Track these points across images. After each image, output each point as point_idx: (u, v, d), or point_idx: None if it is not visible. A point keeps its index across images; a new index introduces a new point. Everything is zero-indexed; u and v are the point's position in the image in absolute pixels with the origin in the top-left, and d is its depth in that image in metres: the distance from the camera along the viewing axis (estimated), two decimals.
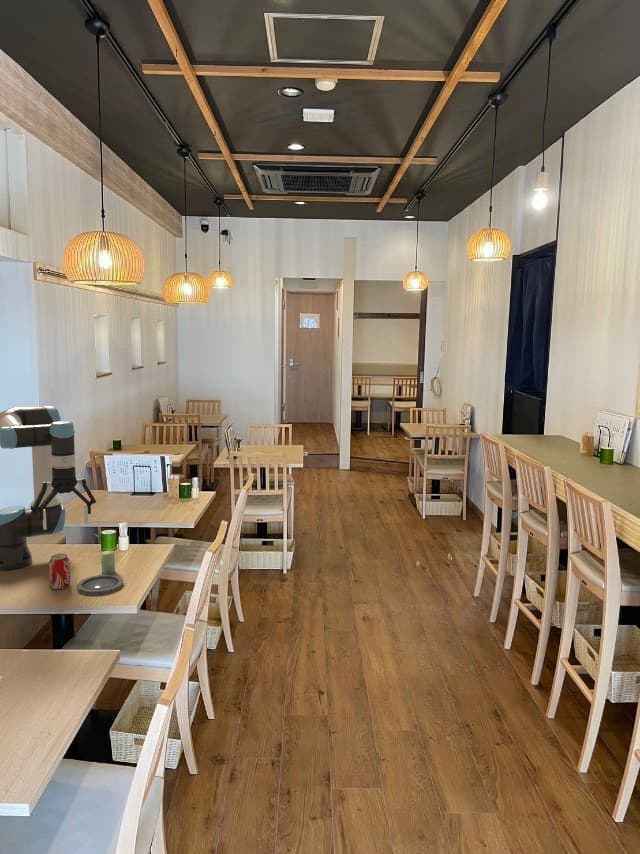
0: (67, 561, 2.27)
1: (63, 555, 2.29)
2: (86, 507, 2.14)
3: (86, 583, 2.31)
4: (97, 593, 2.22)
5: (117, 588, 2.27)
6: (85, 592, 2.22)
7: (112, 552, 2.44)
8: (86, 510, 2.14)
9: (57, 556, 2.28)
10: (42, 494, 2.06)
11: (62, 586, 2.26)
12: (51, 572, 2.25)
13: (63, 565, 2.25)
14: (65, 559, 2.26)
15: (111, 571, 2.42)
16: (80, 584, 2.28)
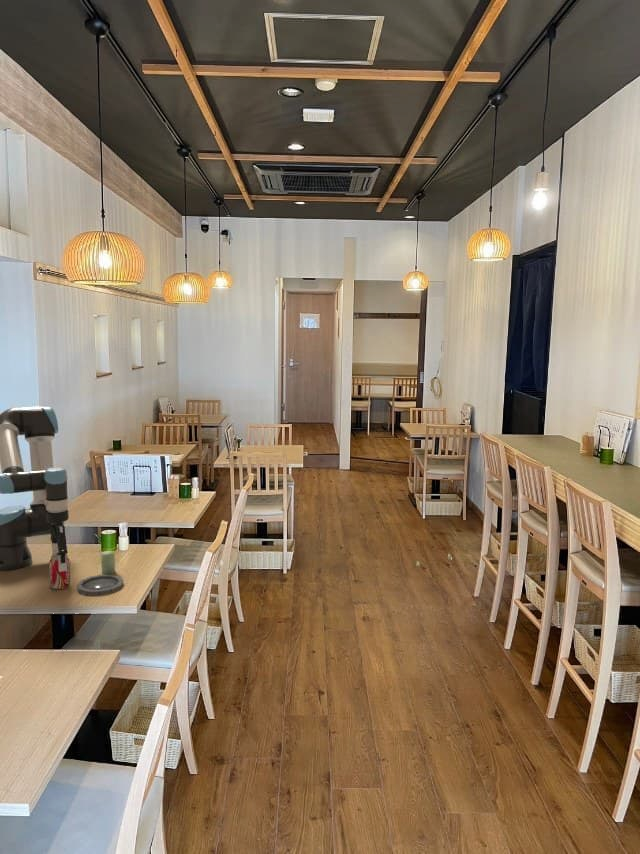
0: (67, 561, 2.27)
1: None
2: (58, 555, 2.20)
3: (86, 583, 2.31)
4: (97, 593, 2.22)
5: (117, 588, 2.27)
6: (85, 592, 2.22)
7: (112, 552, 2.44)
8: (58, 558, 2.20)
9: (57, 556, 2.28)
10: (51, 528, 2.31)
11: (62, 586, 2.26)
12: (51, 572, 2.25)
13: None
14: None
15: (111, 571, 2.42)
16: (80, 584, 2.28)
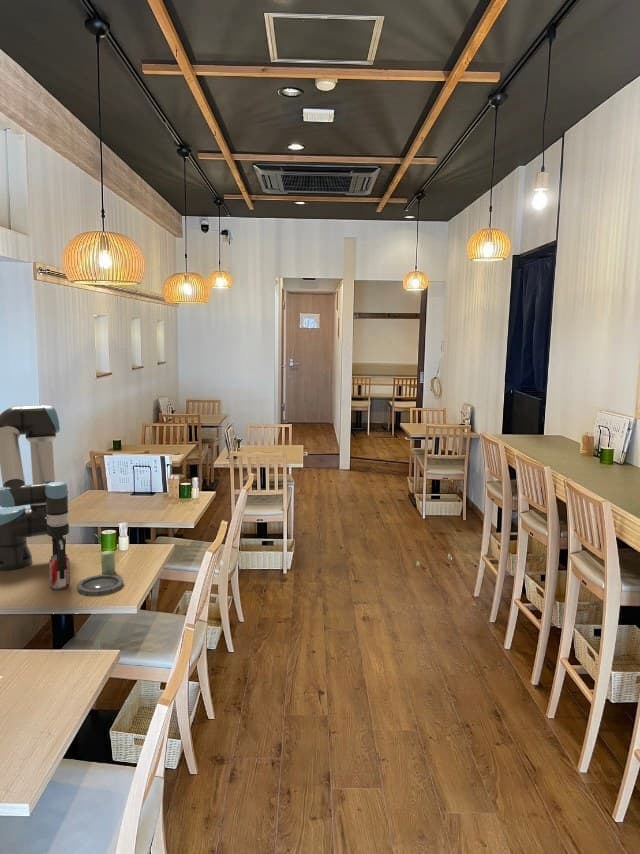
0: (67, 561, 2.27)
1: None
2: (57, 571, 2.24)
3: (86, 583, 2.31)
4: (97, 593, 2.22)
5: (117, 588, 2.27)
6: (85, 592, 2.22)
7: (112, 552, 2.44)
8: None
9: None
10: (52, 545, 2.31)
11: None
12: (51, 572, 2.25)
13: None
14: None
15: (111, 571, 2.42)
16: (80, 584, 2.28)
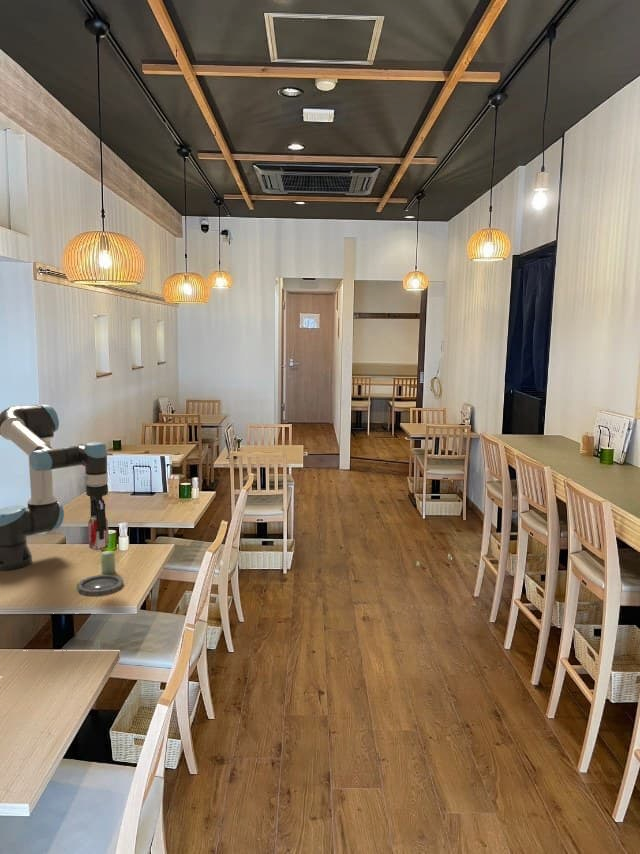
0: (106, 522, 2.26)
1: None
2: None
3: (86, 583, 2.31)
4: (97, 593, 2.22)
5: (117, 588, 2.27)
6: (85, 592, 2.22)
7: (112, 552, 2.44)
8: (97, 534, 2.23)
9: None
10: None
11: None
12: (90, 533, 2.24)
13: None
14: None
15: (111, 571, 2.42)
16: (80, 584, 2.28)
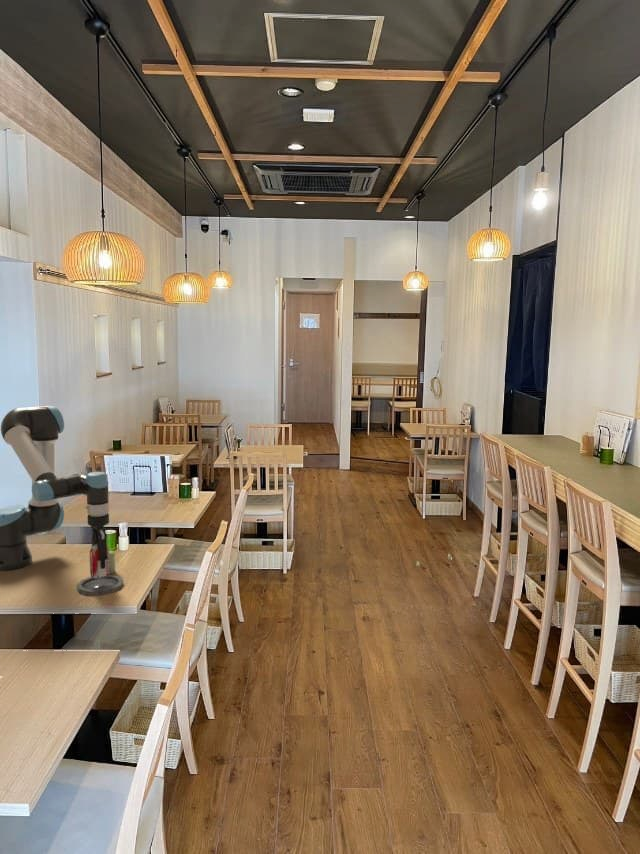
0: (107, 551, 2.27)
1: None
2: (98, 560, 2.24)
3: (86, 583, 2.31)
4: (97, 593, 2.22)
5: (117, 588, 2.27)
6: (85, 592, 2.22)
7: (112, 552, 2.44)
8: None
9: (97, 546, 2.28)
10: (92, 535, 2.32)
11: None
12: (92, 562, 2.25)
13: None
14: None
15: (111, 571, 2.42)
16: (80, 584, 2.28)
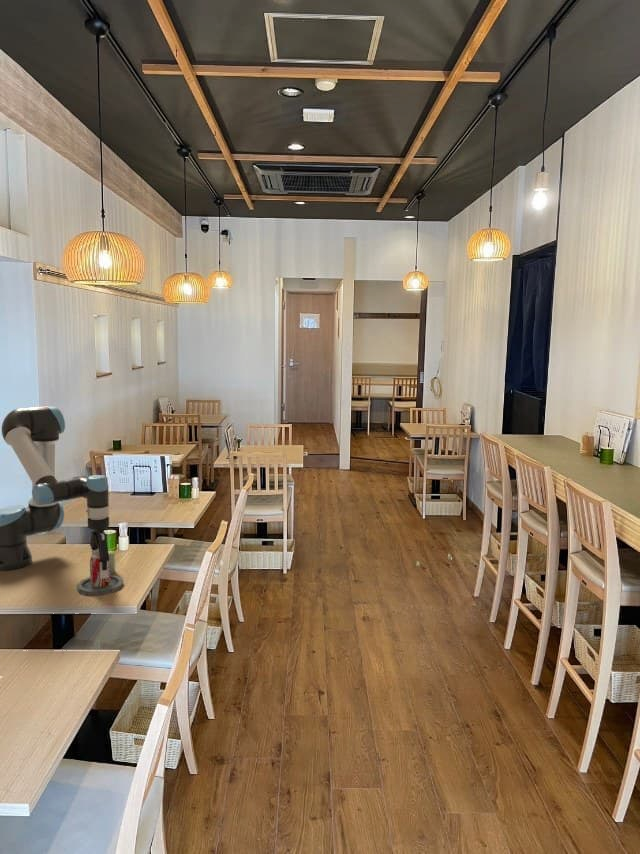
0: None
1: None
2: None
3: (86, 583, 2.31)
4: (97, 593, 2.22)
5: (117, 588, 2.27)
6: (85, 592, 2.22)
7: (112, 552, 2.44)
8: (100, 565, 2.22)
9: (97, 555, 2.28)
10: (91, 535, 2.33)
11: (103, 584, 2.27)
12: (92, 571, 2.26)
13: None
14: None
15: (111, 571, 2.42)
16: (80, 584, 2.28)
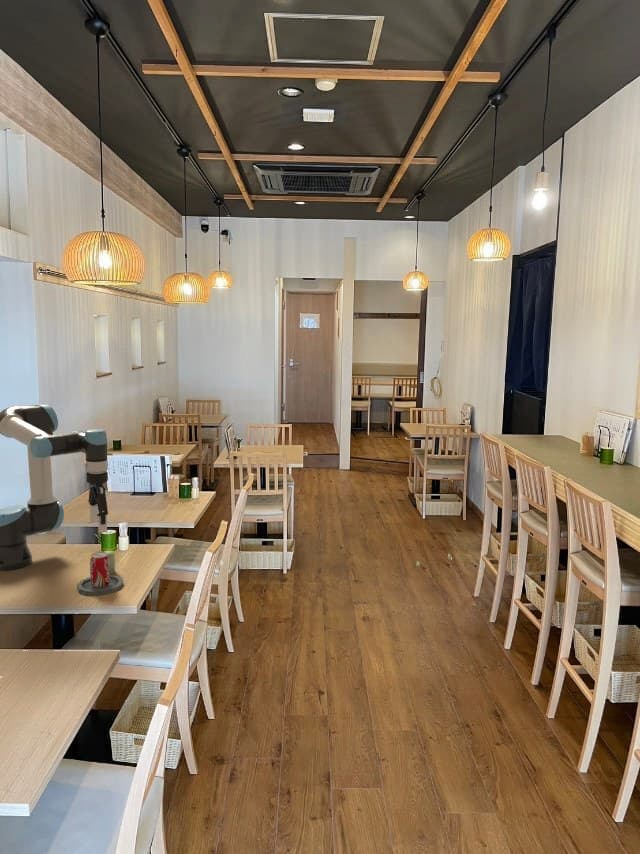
0: (107, 560, 2.28)
1: (103, 554, 2.30)
2: (98, 516, 2.20)
3: (86, 583, 2.31)
4: (97, 593, 2.22)
5: (117, 588, 2.27)
6: (85, 592, 2.22)
7: (112, 552, 2.44)
8: (98, 519, 2.20)
9: (97, 554, 2.28)
10: (89, 490, 2.30)
11: (103, 584, 2.27)
12: (92, 570, 2.26)
13: (104, 563, 2.26)
14: (106, 558, 2.27)
15: (111, 571, 2.42)
16: (80, 584, 2.28)
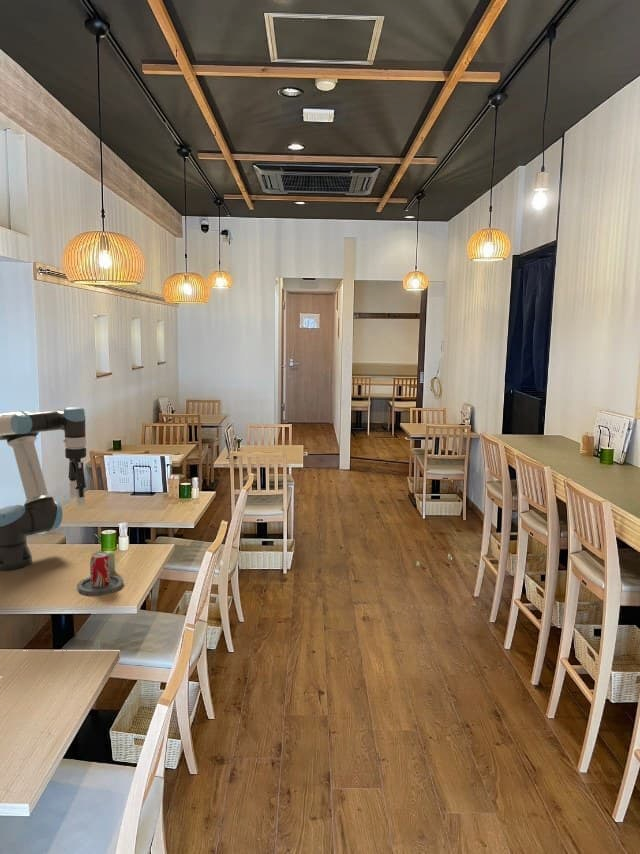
0: (108, 559, 2.28)
1: (104, 553, 2.30)
2: (76, 489, 2.31)
3: (86, 583, 2.31)
4: (97, 593, 2.22)
5: (117, 588, 2.27)
6: (85, 592, 2.22)
7: (112, 552, 2.44)
8: (77, 492, 2.31)
9: (98, 554, 2.29)
10: (69, 466, 2.41)
11: (103, 584, 2.27)
12: (92, 570, 2.26)
13: (104, 563, 2.26)
14: (106, 557, 2.27)
15: (111, 571, 2.42)
16: (80, 584, 2.28)
